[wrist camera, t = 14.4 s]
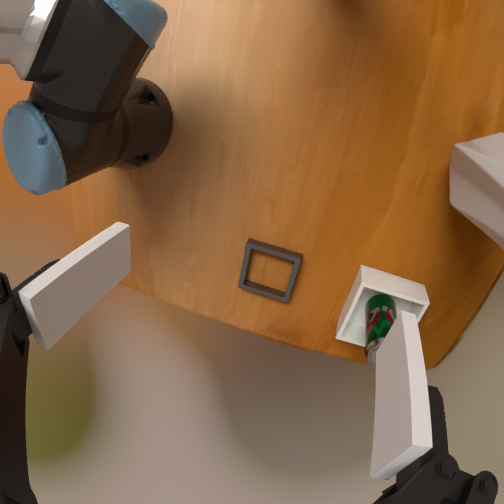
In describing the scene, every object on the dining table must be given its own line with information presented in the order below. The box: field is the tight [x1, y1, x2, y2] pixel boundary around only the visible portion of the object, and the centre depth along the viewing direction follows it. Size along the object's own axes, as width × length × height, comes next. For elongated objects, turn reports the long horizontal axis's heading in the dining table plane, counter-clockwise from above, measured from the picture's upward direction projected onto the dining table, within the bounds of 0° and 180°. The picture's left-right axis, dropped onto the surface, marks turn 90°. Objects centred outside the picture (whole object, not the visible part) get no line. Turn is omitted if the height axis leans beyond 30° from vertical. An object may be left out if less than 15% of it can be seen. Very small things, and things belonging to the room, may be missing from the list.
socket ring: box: [238, 238, 302, 303], centre depth 50 cm, size 9×9×2 cm
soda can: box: [365, 294, 397, 367], centre depth 42 cm, size 5×5×12 cm
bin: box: [336, 265, 430, 347], centre depth 46 cm, size 11×11×5 cm
